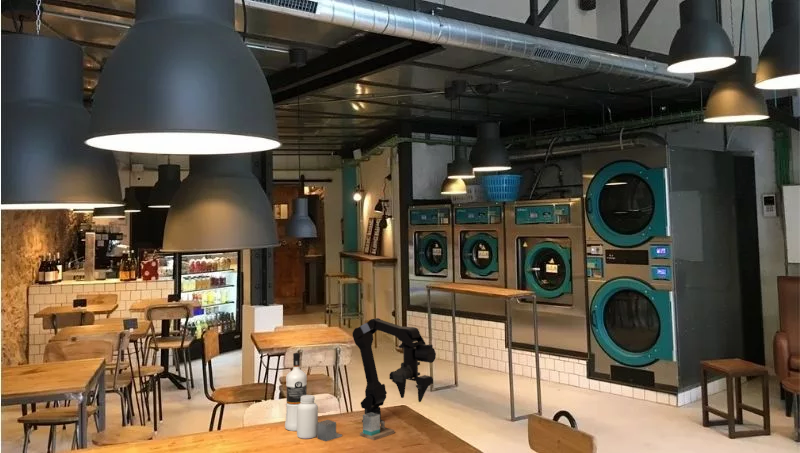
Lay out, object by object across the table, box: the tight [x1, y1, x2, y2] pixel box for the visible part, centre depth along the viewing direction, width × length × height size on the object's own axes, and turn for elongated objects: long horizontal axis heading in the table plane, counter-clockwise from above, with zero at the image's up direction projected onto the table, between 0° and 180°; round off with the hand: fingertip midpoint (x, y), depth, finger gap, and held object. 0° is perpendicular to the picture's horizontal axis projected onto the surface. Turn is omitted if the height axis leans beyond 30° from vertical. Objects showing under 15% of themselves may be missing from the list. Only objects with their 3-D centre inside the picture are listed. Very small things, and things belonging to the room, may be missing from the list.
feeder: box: [316, 419, 343, 442], centre depth 215 cm, size 5×8×6 cm, turn 137°
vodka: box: [284, 352, 308, 432], centre depth 228 cm, size 9×9×30 cm
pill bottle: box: [296, 394, 319, 439], centre depth 218 cm, size 8×8×15 cm
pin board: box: [359, 420, 395, 441], centre depth 218 cm, size 8×11×4 cm
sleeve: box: [362, 412, 381, 436], centre depth 216 cm, size 5×5×7 cm
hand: (411, 399), depth 223 cm, fingers open, 9 cm apart
